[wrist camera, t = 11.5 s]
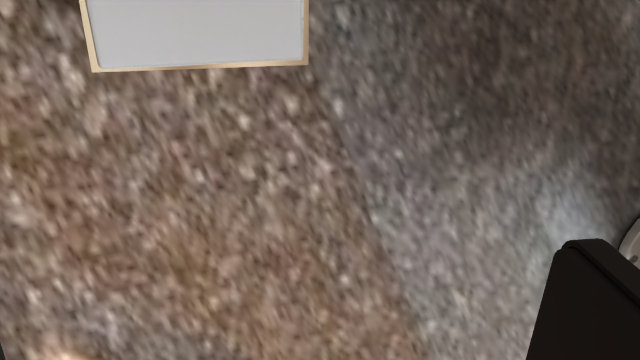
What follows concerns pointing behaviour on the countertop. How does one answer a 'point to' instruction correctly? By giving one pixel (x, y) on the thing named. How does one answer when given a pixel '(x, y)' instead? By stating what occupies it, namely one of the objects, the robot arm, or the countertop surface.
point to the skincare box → (194, 31)
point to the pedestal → (222, 65)
